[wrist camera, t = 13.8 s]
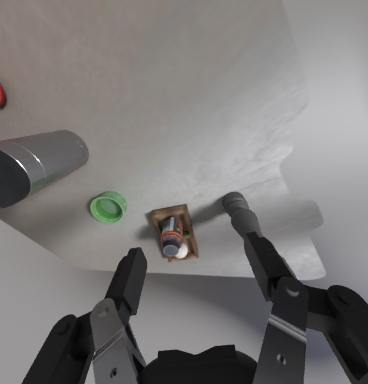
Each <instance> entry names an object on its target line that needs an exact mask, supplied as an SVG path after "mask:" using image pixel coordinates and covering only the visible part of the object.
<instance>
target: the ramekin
mask: <svg viewBox="0 0 368 384" xmlns="http://www.w3.org/2000/svg"><path fill="white" fill-rule="evenodd" d="M90 210H91V213H92V215H93V216H94V217H95V218H96V219H97V220H99V221H100V222H103V223H106V224H115V223H118V222H119V221H121V220H122V218H123V216H124V212H125V210H126V201H125V199H124V198H123V197H122V196H121V195H120V194H118V193H116V192H105V193H103V194H101V195H100V196H99V197H98V198H96V199H94V200H93V201H92V203H91V205H90Z"/></svg>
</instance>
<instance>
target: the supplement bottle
mask: <svg viewBox="0 0 368 384" xmlns="http://www.w3.org/2000/svg"><path fill="white" fill-rule="evenodd" d="M160 243H161V246H162V247H163V253H164V254H165V255H167V256H175V255H177V254H178V252H179V249H180V248H181V246H182V243H183V222H182V220H181V219H180V218H179V217H177V216H169V217H167V218H166V219H165V220H164V224H163V229H162V235H161V242H160Z"/></svg>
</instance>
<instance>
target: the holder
mask: <svg viewBox="0 0 368 384" xmlns="http://www.w3.org/2000/svg"><path fill="white" fill-rule="evenodd" d="M169 216H177V217H179V218H180V219H181V220H182V222H183V243H184V244H186V246H187V248H188V253H187V255H186V256H185V257H184V258H181V259H179V258H176V257H175V256H167V255H166V256H167V258H168V261H169V262H172V261H179V260H185V259H191V258H198V257H199V255H198V248H197V244H196V240H195V236H194V232H193V228H192V224H191V220H190V216H189V212H188V208H187V204H183V205H178V206H173V207H167V208H162V209H157V210H153V211H152V214H151V217H152V220H153V223H154V225H155V228H156V230H157V233H158V235H159V238H160V240H161V235H162V229H163V224H164V220H165V219H166V218H167V217H169Z"/></svg>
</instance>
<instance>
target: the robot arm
mask: <svg viewBox="0 0 368 384" xmlns="http://www.w3.org/2000/svg"><path fill="white" fill-rule="evenodd" d="M87 160H88V149H87V147H86V145H85V143H84V142H83V141H82V139H81V138H80V137H78V136H77V135H76V134H74V133H72V132H69V131H65V130H60V131H54V132H48V133H42V134H37V135H31V136H25V137H20V138H14V139H8V140H3V141H0V208H5V207H9V206H11V205H13V204H15V203H17V202H19V201H21V200H23V199H24V198H26V197H28V196H30V195H32V194H33V193H35V192H37V191H39V190H40V189H42V188H44V187H46V186H47V185H49V184H51V183H53V182H54V181H56V180H58V179H60V178H62V177H63V176H65V175H67V174H69V173H70V172H72V171H74V170H76V169H78V168H79V167H81V166H83V165H84V164H85V163H86V162H87ZM244 249H245V253H246V256H247V258H248V260H249V263H250V265H251V267H252V270H253V272H254V274H255V277H256V279H257V281H258V284H259V286H260V288H261V290H262V293H263V295H264V298H265V300H266V301H272V303H273V305H272V309H271V314H270V316H269V319H268V322H267V327H266V331H265V335H264V339H263V343H262V347H261V352H260V355H259V359H258V363H257V362H256V361H255V360H254V359H252V358H251V357H250V356H248V355H246V354H244V353H242V352H240V351H236V350H235V345H223V346H215V347H212V348H210V349H208V350H206V351H204V352H202V353H199V354H197V355H193V354H190V353H187V352H183V351H179V350H166V351H158V358H156V359H155V360H153V361H152V362H150V363H149V364H148V365H146V362H145V360H144V358H143V356H142V354H141V352H140V350H139V348H138V345H137V342H136V339H135V337H134V334H133V331H132V329H131V326H130V323H129V318H130V316H132V315H136V314H137V309H138V305H139V300H140V296H141V291H142V287H143V283H144V279H145V274H146V270H147V260H146V258H145V256H144V253H143V251H142V249H141V248H140V247H138V248H131V249H130V250H129V252H128V255H127V256H124V257H123V259H122V260H121V261H120V262H119V264H118V267H117V270H116V272H115V274H114V276H113V279H112V281H111V284H110V286H109V289H108V291H107V293H106V296H105V298H104V299H103V300H101V301H100V302H99V303H97V304H96V306H95V307H94V308H93V310H92V311H91V312H89V313H87V314H85V315H82V316H80V317H78V318H77V317H76V316H74V315H72V314H70V315H67V316H65V317H63V318H62V319H60V320H59V321H58V322H57V323H56V324H55V326H54V327H53V328H52V330H51V332H50V333H49V335H48V337H47V339H46V341H45V343H44V344H43V346H42V348H41V350H40V351H39V353H38V355H37V357H36V359H35V360H34V362H33V364H32V366H31V368H30V369H29V371H28V373H27V375H26V377H25V378H24V380H23V382H22V384H84V383H85V379H86V376H87V373H88V370H89V367H90V364H91V361H92V363H93V370H94V377H95V383H96V384H304V372H305V359H306V345H307V338H306V328H309V329H313V330H316V331H320V332H323V334H324V336H325V338H326V340H327V341H328V343H329V344H330V347H331V348H332V350H333V352H334V353H335V355H336V357H337V359H338V360H339V362H340V364H341V366H342V368H343V369H344V371H345V373H346V375H347V376H348V378H349V380H350V382H351V383H352V384H368V304H367V303H366V302H365V301H364V299H363V298H362V297H360V295H358V294H357V293H356V292H354V291H353V290H351V289H349V288H347V287H344V286H340V285H333V286H330V287H329V288H328V290H325V289H319V288H314V287H309V286H307V285H304V284H303V283H302V282H300V281H299V280H297V279H295V278H294V276H293V275H292V274H291V272H290V271H289V269H288V268H287V266H286V265H285V263H284V262H283V260H282V258H281V257H280V255H278V252H277V251H276V249H275V248H274V246H273V245H272V243H271V242H270V241H269V240H268V239H266V238H265V237H260V238H259V237H258V235H257V233H256V232H255V231H249V232H244ZM94 352H96V354H95V355H94ZM93 355H94V356H93ZM92 358H93V359H92Z"/></svg>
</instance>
